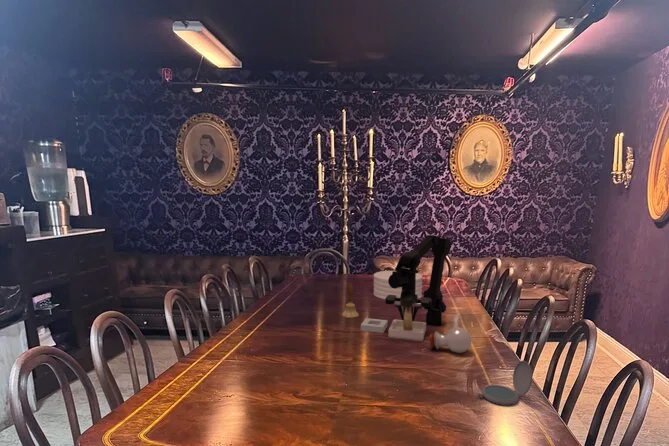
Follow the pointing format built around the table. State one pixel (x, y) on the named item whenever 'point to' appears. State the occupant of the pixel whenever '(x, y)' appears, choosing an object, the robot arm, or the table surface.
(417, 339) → the tray
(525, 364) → the pocket watch
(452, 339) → the potion bottle
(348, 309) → the hand bell
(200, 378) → the table surface
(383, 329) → the collar block
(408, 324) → the brass peg
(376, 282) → the plate stack
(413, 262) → the robot arm
